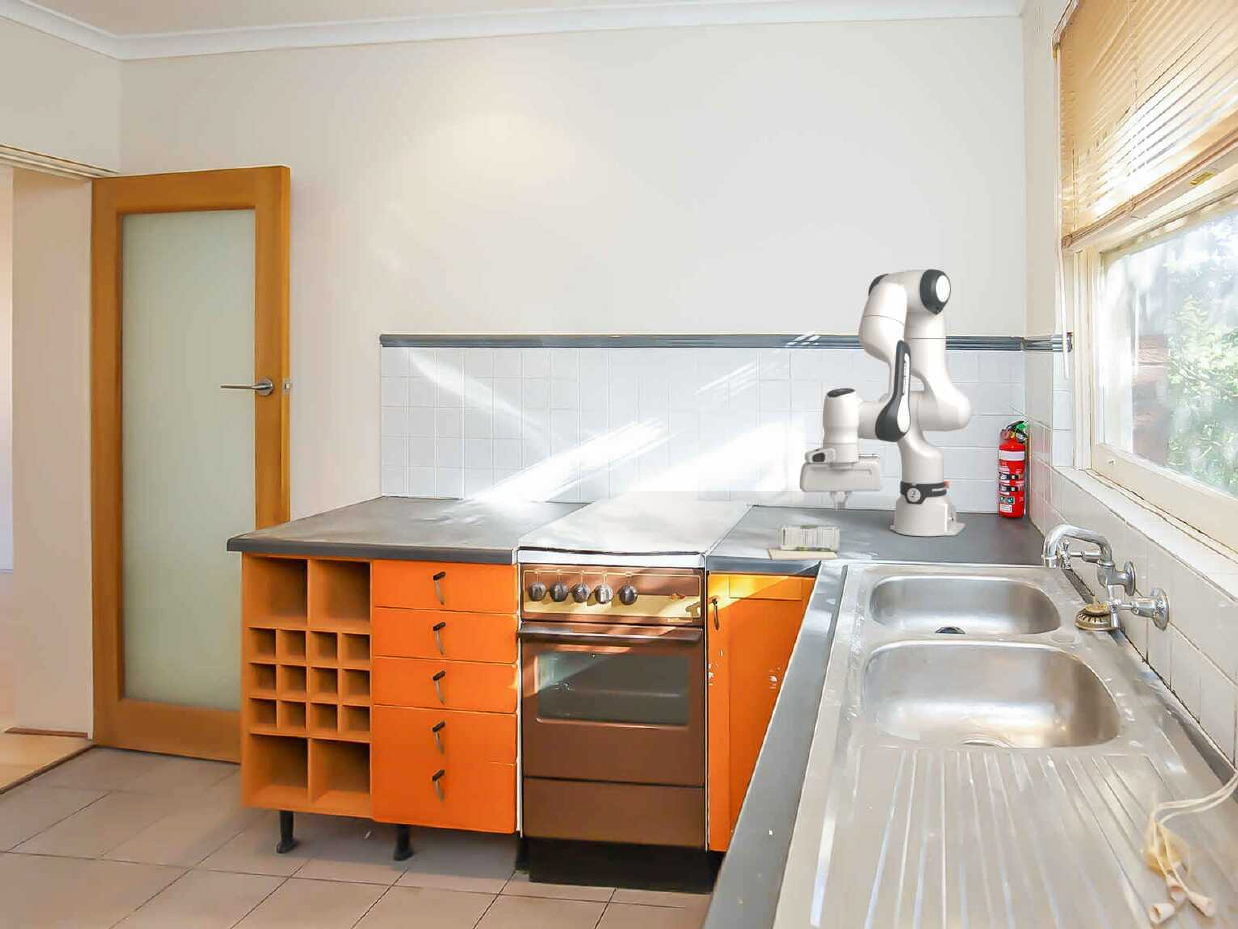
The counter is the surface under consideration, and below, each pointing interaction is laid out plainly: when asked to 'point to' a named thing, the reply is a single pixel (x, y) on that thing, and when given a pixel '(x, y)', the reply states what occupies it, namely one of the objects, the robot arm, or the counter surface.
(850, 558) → the counter surface
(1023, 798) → the counter surface
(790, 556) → the mat
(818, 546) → the syrup box
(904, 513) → the robot arm
